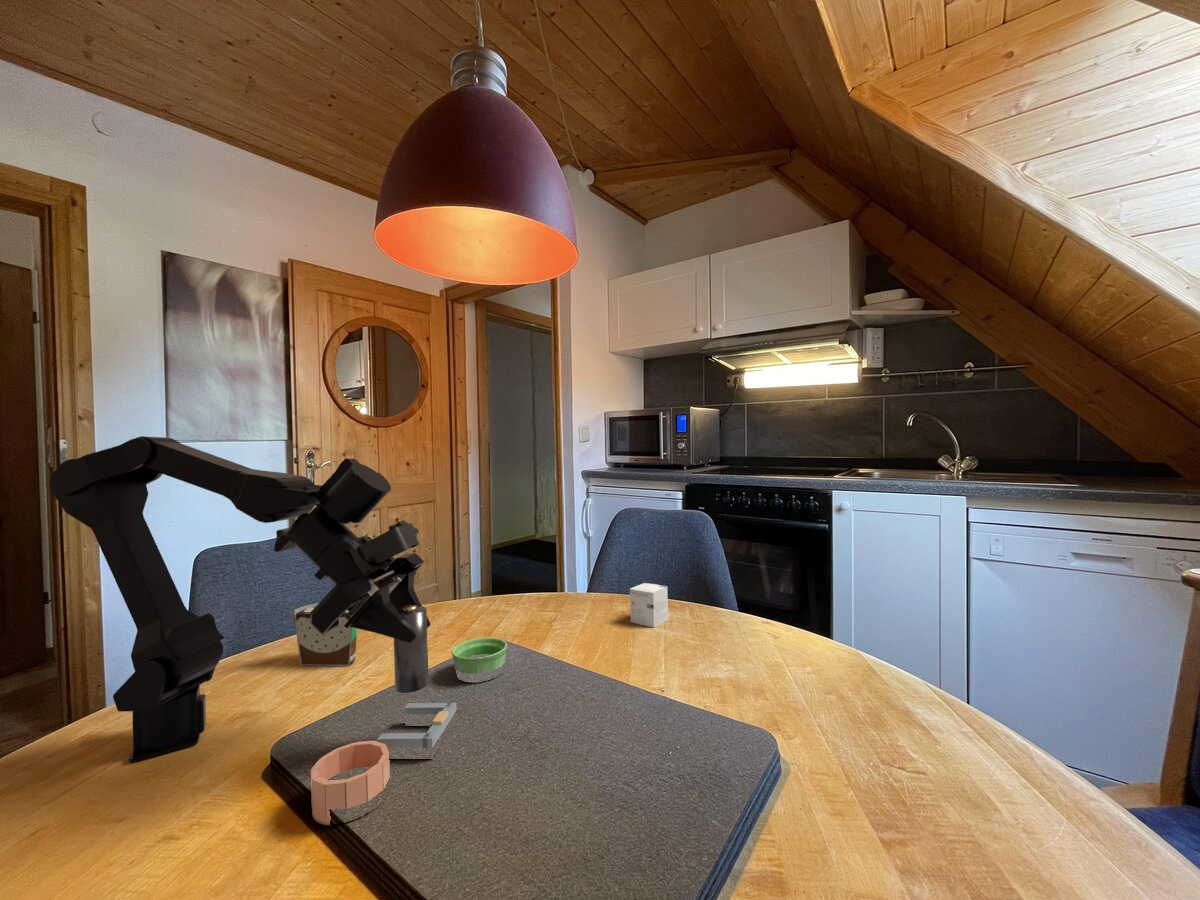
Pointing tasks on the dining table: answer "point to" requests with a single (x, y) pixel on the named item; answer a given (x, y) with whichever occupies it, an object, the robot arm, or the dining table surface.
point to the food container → (324, 641)
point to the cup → (353, 788)
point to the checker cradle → (422, 739)
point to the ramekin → (475, 648)
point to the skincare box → (649, 604)
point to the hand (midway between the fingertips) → (421, 633)
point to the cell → (412, 652)
